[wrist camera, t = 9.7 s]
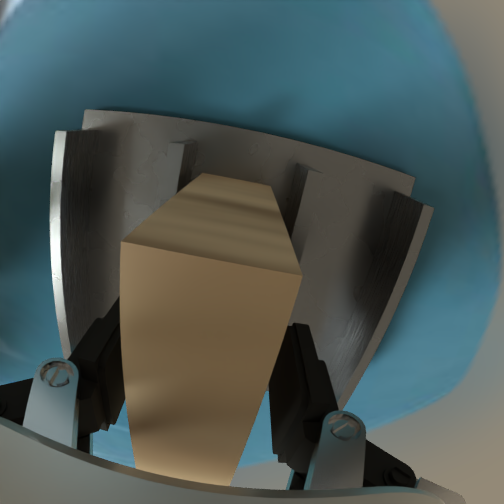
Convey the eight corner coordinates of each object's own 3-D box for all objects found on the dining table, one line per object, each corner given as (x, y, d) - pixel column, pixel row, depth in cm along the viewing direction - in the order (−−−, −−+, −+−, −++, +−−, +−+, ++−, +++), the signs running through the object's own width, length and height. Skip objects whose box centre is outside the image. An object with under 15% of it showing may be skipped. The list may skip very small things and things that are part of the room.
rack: (93, 110, 13) (52, 107, 10) (406, 174, 15) (447, 188, 11) (87, 341, 19) (63, 378, 15) (325, 386, 20) (335, 429, 16)
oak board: (202, 173, 14) (121, 241, 5) (270, 186, 14) (302, 275, 5) (179, 345, 17) (140, 486, 9) (232, 355, 18) (222, 501, 9)
